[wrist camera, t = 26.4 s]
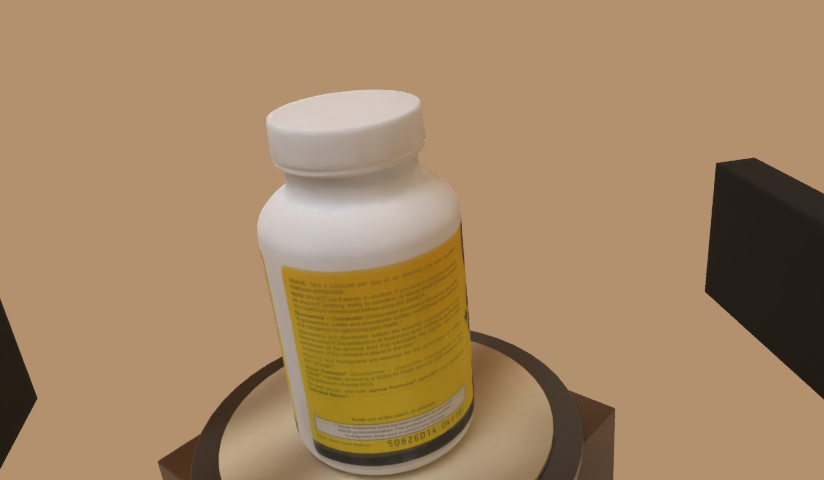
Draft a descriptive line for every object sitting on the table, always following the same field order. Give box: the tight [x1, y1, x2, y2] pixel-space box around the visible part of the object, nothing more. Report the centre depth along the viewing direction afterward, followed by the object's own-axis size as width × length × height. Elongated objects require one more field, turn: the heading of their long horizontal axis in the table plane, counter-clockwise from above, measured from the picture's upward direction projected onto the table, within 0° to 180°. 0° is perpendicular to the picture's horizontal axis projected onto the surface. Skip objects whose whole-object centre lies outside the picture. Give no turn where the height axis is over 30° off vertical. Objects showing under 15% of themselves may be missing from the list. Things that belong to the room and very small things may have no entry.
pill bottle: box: [257, 90, 474, 475], centre depth 24 cm, size 6×6×12 cm
